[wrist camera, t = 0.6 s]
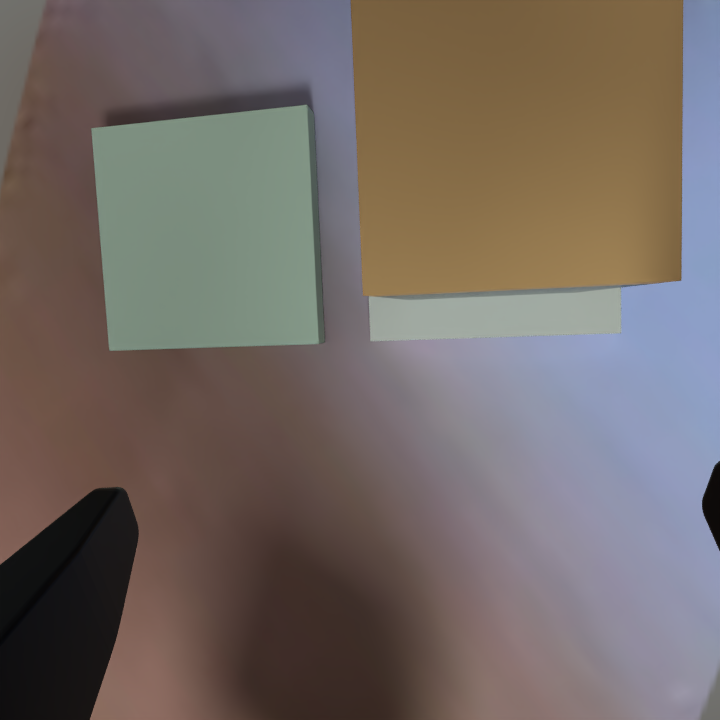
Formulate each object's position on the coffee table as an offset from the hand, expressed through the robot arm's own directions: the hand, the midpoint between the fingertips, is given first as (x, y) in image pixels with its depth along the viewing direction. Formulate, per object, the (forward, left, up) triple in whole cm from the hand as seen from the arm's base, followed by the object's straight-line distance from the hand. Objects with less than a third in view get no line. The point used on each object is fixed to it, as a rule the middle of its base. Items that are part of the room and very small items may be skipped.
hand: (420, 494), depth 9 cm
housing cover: (+6, -1, -5) cm, 8 cm away
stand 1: (+5, +10, -14) cm, 18 cm away
